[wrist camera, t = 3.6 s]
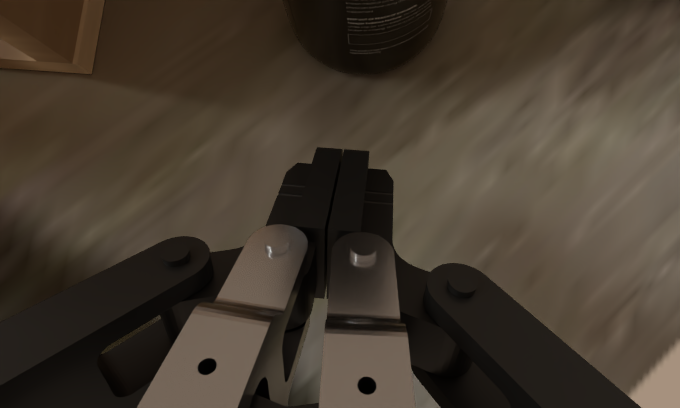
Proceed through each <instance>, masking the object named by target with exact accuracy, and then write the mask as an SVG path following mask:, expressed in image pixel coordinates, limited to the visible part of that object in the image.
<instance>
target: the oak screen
mask: <svg viewBox="0 0 680 408" xmlns="http://www.w3.org/2000/svg"><path fill="white" fill-rule="evenodd" d="M104 2H105V0H0V68H10V69H24V70H39V71H54V72H68V73H83V74H92V69H93V64H94V58H95V52H96V47H97V41H98V35H99V30H100V24H101V19H102V13H103V7H104Z"/></svg>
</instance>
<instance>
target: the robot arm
mask: <svg viewBox="0 0 680 408" xmlns="http://www.w3.org/2000/svg"><path fill="white" fill-rule="evenodd" d="M368 163H369V151H359V150H347V149H344V152H343V150H342V149H333V148H320V147H317V149H316V152H315V155H314V158H313V161H312V164H306V163H297V164H296V165H294V166H293V167H292V168H291V169H290V170H289V171H287V172H286V175H285V178H284V180H283V183H282V186H281V188H280V190H279V195H278V196H277V198H276V201H275V203H274V206H273V208H272V211H271V214H270V216H269V219H268V221H267V224H266V227H263V228H261V229H259V230H257V231H256V232H254V233H253V234H252V235H251V236H250V237H249V239H248V240H247V242H246V244H245V246H243V247H240V248H237V249H232V250H225V251H218V252H211V253H210V251H209V248H208V246H207V244H206V243H205V242H203V241H202V240H200V239H198V238H194V237H189V236H181V237H174V238H170V239H167V240H165V241H162V242H160V243H158V244H156V245H154V246H152V247H150V248H148V249H146V250H144V251H142V252H140V253H138V254H136V255H134V256H132V257H130V258H128V259H126V260H124V261H122V262H120V263H118V264H116V265H114V266H112V267H110V268H108V269H106V270H104V271H102V272H100V273H98V274H96V275H94V276H92V277H90V278H88V279H86V280H84V281H82V282H80V283H78V284H76V285H74V286H72V287H70V288H68V289H66V290H64V291H62V292H60V293H58V294H56V295H54V296H52V297H50V298H48V299H46V300H44V301H42V302H40V303H38V304H36V305H34V306H32V307H30V308H28V309H26V310H24V311H22V312H20V313H18V314H16V315H14V316H12V317H10V318H8V319H6V320H4V321H2V322H0V408H415V399H414V390H413V381H412V371H413V373H414V374H415V376H416V377H417V379H418V380H419V381H420V382H421V384H422V385H423V386H424V387H425V389H426V390H427V391H428V392H429V394H430V395H431V396H432V397H433V398H434V400H435V401H436V402H437V403H438V405H439V406H440V407H441V408H641V407H640V406H639V405H638V404H636V403H635V402H634V401H633V400H632V399H630V398H629V397H628V396H627V395H626V394H625V393H623V392H622V391H621V390H620V389H619V388H618V387H616V386H615V385H614V384H613V383H612V382H610V381H609V380H608V379H607V378H606V377H605V376H603V375H602V374H601V373H600V372H599V371H598V370H596V369H595V368H594V367H593V366H592V365H590V364H589V363H588V362H587V361H586V360H585V359H583V358H582V357H581V356H580V355H579V354H577V353H576V352H575V351H574V350H573V349H572V348H570V347H569V346H568V345H567V344H566V343H565V342H563V341H562V340H561V339H560V338H559V337H557V336H556V335H555V334H554V333H553V332H552V331H550V330H549V329H548V328H547V327H546V326H544V325H543V324H542V323H541V322H540V321H539V320H537V319H536V318H535V317H534V316H533V315H532V314H530V313H529V312H528V311H527V310H526V309H524V308H523V307H522V306H521V305H520V304H519V303H517V302H516V301H515V300H514V299H513V298H511V297H510V296H509V295H508V294H507V293H506V292H504V291H503V290H502V289H501V288H500V287H499V286H497V285H496V284H495V283H494V282H493V281H491V280H490V279H489V278H488V277H487V276H486V275H484V274H483V273H482V272H480V271H479V270H477V269H475V268H473V267H470V266H467V265H464V264H458V263H449V264H443V265H440V266H438V267H436V268H435V269H433V270H432V271H431V272H428V271H425V270H422V269H420V268H417V267H414V266H412V265H410V264H409V263H407V262H405V261H404V260H403V259H402V258H401V257H399V255H398V254H397V253H396V251H395V249H394V247H393V243H392V229H393V180H392V178H391V176H390V175H389V173H388V172H387V170H380V169H368ZM326 286H327V299H328V311H327V319H326V323H325V334H324V347H323V360H322V373H321V386H320V399H319V403H315V404H308V405H301V406H292V407H289V406H288V398H289V393H290V389H291V385H292V382H293V378H294V375H295V372H296V368H297V365H298V362H299V358H300V355H301V351H302V348H303V345H304V341H305V338H306V335H307V331H308V328H309V324H310V314H311V311H312V307H313V302H314V298H323V299H324V297H325V291H326ZM158 315H160V316H161V319H160V320H159V321H157V322H156V323H154V324H152V325H151V326H149V327H147V328H146V329H144V330H142V331H141V332H139V333H138V334H136V335H134V336H133V337H131V338H129V339H128V340H126V341H124V342H123V343H121V344H120V345H118V346H116V347H115V348H113V349H111V350H110V351H108V352H106V353H104V354H101V352H102V351H103V350H104V349H105V348H106V347H107V346H109V345H110V344H112V343H113V342H115V341H117V340H118V339H120V338H122V337H123V336H125V335H127V334H128V333H130V332H132V331H133V330H135V329H137V328H138V327H140V326H142V325H143V324H145V323H147V322H148V321H150V320H151V319H153V318H155V317H156V316H158ZM100 354H101V355H100ZM411 368H412V371H411Z"/></svg>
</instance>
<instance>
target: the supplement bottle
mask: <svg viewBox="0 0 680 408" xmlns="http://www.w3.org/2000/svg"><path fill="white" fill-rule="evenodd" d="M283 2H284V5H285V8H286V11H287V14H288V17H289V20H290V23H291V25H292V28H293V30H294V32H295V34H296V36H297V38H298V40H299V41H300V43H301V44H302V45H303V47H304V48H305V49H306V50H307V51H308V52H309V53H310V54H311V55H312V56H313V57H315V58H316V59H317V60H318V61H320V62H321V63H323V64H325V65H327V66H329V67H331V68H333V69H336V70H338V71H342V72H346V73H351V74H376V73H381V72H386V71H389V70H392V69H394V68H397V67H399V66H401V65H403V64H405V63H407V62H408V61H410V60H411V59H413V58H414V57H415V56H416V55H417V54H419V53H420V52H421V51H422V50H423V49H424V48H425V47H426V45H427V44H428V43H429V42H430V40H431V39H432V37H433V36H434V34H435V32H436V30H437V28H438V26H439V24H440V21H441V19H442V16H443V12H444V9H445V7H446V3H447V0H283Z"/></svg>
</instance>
